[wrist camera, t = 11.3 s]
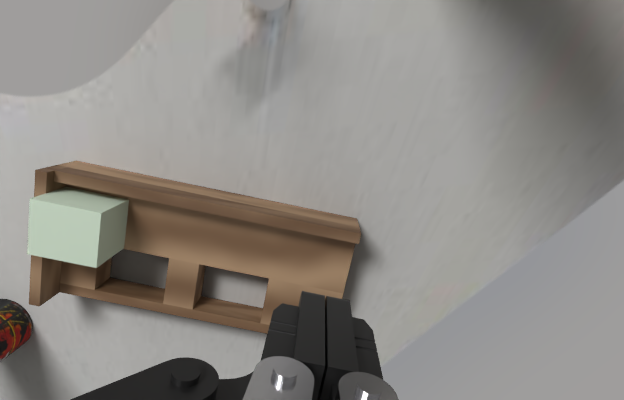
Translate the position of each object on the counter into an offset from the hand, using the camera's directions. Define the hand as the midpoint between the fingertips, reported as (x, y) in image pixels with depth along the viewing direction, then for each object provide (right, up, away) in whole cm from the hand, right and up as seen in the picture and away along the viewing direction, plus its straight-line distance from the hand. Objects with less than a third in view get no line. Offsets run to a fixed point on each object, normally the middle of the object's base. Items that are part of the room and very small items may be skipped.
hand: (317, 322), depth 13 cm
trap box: (-11, -1, +30) cm, 32 cm away
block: (-21, +2, +27) cm, 34 cm away
